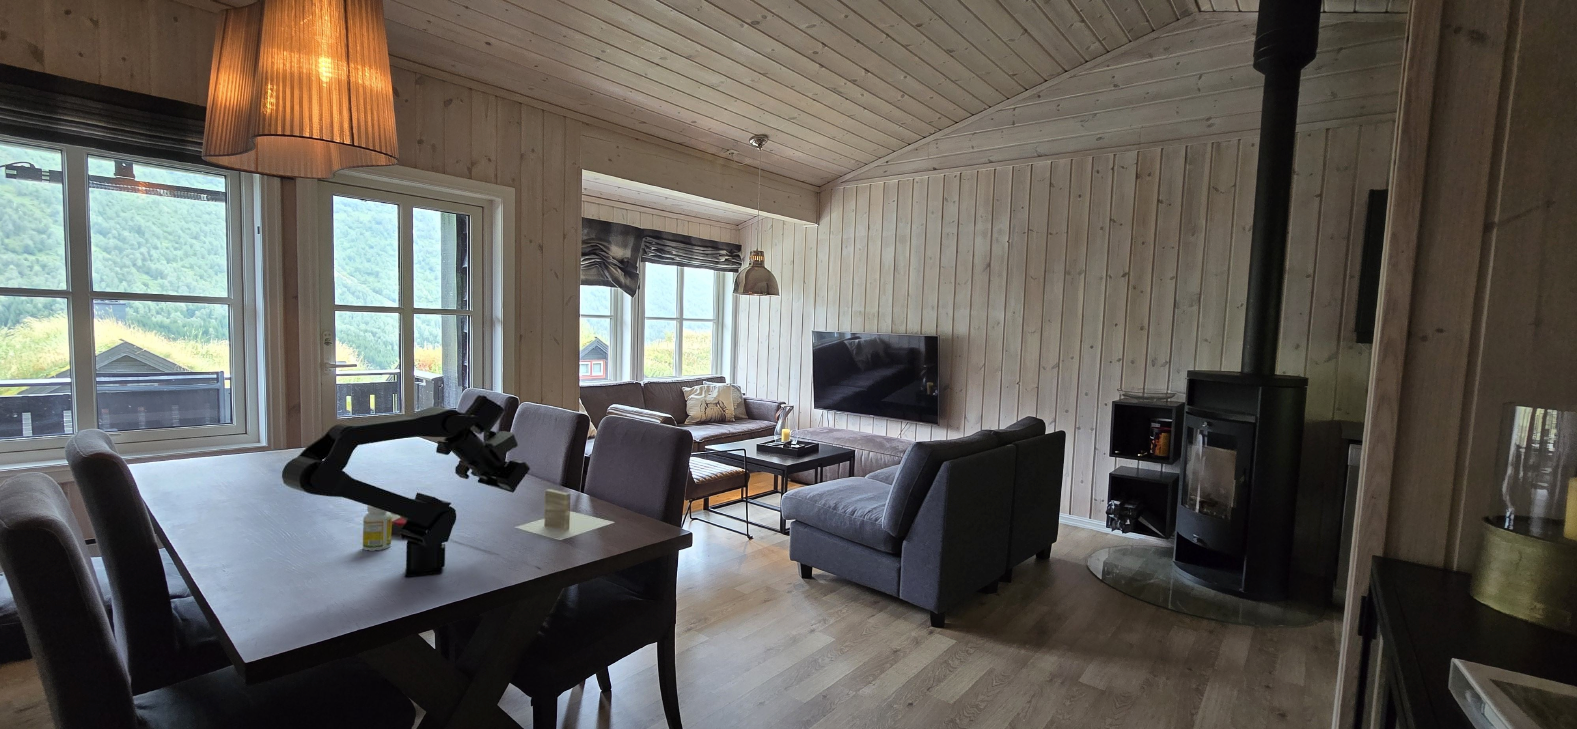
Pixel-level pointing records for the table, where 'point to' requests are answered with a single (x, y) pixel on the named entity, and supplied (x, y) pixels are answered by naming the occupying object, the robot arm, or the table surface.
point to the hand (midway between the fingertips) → (513, 490)
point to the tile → (557, 509)
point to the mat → (576, 526)
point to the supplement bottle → (376, 529)
